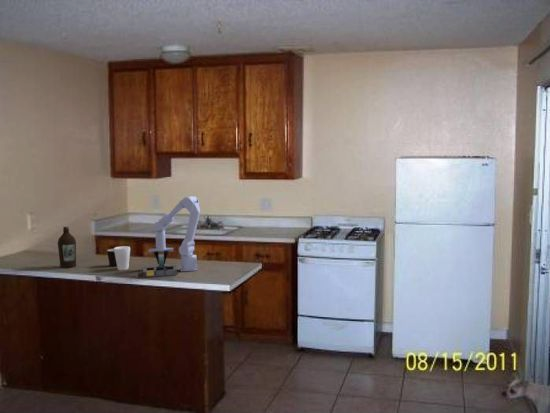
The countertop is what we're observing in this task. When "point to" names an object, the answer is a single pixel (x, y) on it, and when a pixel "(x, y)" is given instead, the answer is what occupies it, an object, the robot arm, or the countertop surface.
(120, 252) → the foam cup
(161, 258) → the panel
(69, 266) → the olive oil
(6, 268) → the countertop surface
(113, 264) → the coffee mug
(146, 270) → the rack
